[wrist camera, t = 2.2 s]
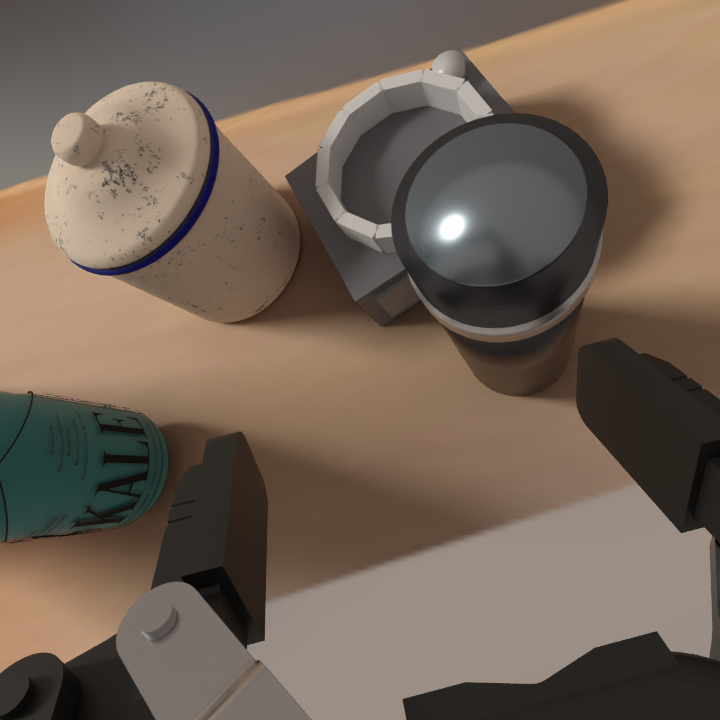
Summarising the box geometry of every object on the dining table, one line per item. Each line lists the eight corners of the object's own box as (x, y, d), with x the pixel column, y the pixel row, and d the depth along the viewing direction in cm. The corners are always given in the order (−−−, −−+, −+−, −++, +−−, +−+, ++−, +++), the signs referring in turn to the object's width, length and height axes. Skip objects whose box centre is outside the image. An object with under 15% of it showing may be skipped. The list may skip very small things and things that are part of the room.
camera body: (384, 331, 25) (345, 295, 20) (318, 214, 28) (269, 158, 23) (561, 219, 23) (567, 149, 18) (470, 107, 26) (454, 20, 21)
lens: (498, 417, 22) (450, 351, 10) (445, 332, 24) (350, 189, 12) (595, 362, 21) (670, 217, 9) (533, 278, 23) (527, 64, 11)
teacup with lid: (304, 170, 29) (167, -7, 18) (310, 314, 27) (158, 208, 16) (142, 217, 33) (-49, 93, 22) (136, 347, 30) (-81, 279, 20)
